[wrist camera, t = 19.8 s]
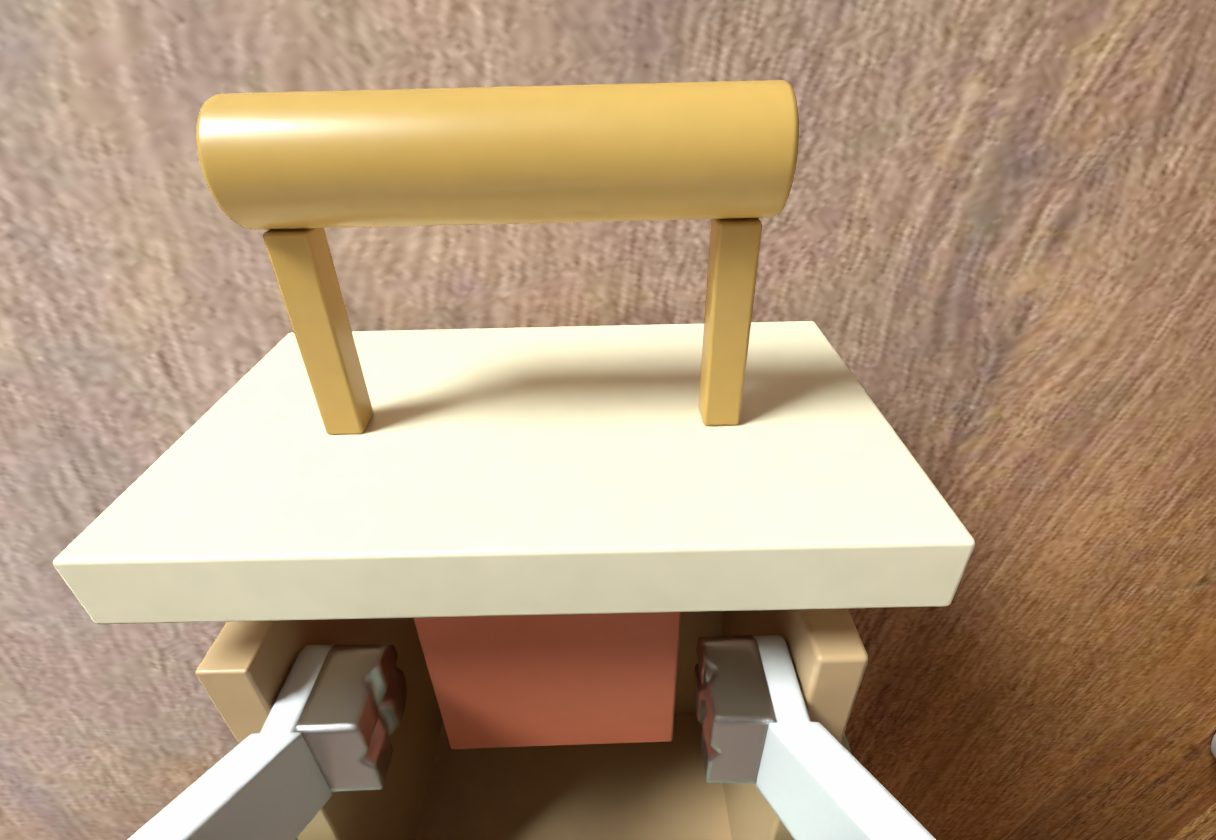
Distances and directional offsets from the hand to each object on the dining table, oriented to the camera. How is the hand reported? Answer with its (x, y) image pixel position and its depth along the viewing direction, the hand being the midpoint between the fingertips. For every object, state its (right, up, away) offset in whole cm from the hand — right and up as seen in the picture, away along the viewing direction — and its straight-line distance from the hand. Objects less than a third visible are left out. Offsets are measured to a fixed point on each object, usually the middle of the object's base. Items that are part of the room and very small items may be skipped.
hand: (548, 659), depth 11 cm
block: (0, +2, +3) cm, 4 cm away
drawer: (0, +3, +4) cm, 5 cm away
